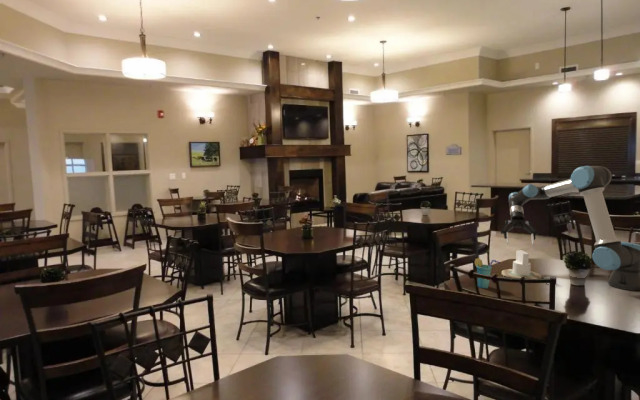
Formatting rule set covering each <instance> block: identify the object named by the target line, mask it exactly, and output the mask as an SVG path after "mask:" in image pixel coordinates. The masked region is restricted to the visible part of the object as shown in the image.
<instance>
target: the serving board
mask: <svg viewBox="0 0 640 400" xmlns="http://www.w3.org/2000/svg"><path fill="white" fill-rule="evenodd" d="M512 272H513V268H507V269H503V270H501V276H502V275H503V276H502V277H504V276H506V277H511V278H521V277H525V278H528V279H541V280H542V274H540V273H538V272H536V271H532V270H530V275H517V274H514V273H512ZM506 277H505V278H506Z"/></svg>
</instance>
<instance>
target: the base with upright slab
mask: <svg viewBox="0 0 640 400" xmlns="http://www.w3.org/2000/svg"><path fill="white" fill-rule="evenodd" d="M515 253H516V254H515V255H516V256H515V260H513V261H512V269H513V272H512V273H514V274H517V275H530V271H531V269H532V268H531V267H532V266H531V265H532V263H531V262H530V261H529V259H530V254H529V253H528V252H526V251H524V250H520V249H518V250H516V252H515Z"/></svg>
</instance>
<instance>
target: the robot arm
mask: <svg viewBox="0 0 640 400" xmlns="http://www.w3.org/2000/svg"><path fill="white" fill-rule="evenodd" d="M611 181H612V173H611V171H610V170H609V169H608V168H607V167H605V166H601V165H584V166H579V167H576V168H575V169H574V170H573V171H572V173H571V175H570V178H568V179H565V180H561V181H557V182H554V183H550V184H547V185H544V186H536V185H535V184H532V183H528V184H527V185H526V186H524V187H523V188H522V189H520V190H519V191H514V192H511V193H509V195H508V205H509V206H508V207H509V215H510V220H509V219H508V218H507V219H506V220H505V223H504V224H503V226H502V228H501V230H500V234H503V237H504V240H505V239H506V245H509V243H510V240H509V233H510V232H511V230H512V229H514V228H515V229H523V230H525V231H526V232H527V233H529V234H530V239H531V246H534V245H535V241H536V236H538V235H539V231H538V230H537V228H536V227H535V226H534V225H533V223H532V221H531V220H525V213H524V205H525V204H526V203H527V202H528V201H530V200H531V201H532V200H549V199H550V198H552V197H556V196H561V195H565V194H569V193H572V192H573V193H574V192H577V191H578V193H579V195H580V196H582V197H583V199H584V203H585V207H586V209H587V213H588V216H589V221H590V223H591V227H592V231H593V233H594V237H595V242H594V244H593V246H594V250H593V252H592V257H591V258H592V261H593V262H594V264H595V265H596V266H597V267H599V268H600V269H602V270H605V271H612V272H611V274H610V276H609V278H608V282H607V284H608V285H609V286H611V287H613V288H617V289H620V290H625V289H628V290H627V291H634V290H639V289H640V243H633V242H628V241H621V240H620V239H618V238H617V237H616V234H615V230H614V227H613V223H612V220H611V217H610V214H609V211H608V206H607V204H606V200H605V197H604V193H603V192H604V191H605V187H606V186H608V185H610V183H611ZM508 225H509V227H508ZM639 291H640V290H639Z"/></svg>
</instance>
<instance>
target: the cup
mask: <svg viewBox="0 0 640 400" xmlns="http://www.w3.org/2000/svg"><path fill="white" fill-rule="evenodd" d="M493 263H497V264H500V263H501V262H500V261H498V260H496V259H491V261H490V264H489V265H488V264H483V261H482V259H481V258H479V257H477V258H475V259H474V266H475V267H476V274H477V273H479V274H483V275H489V276H490V277H491V273H492V268H493V267H492V265H493ZM476 278H477V277H476ZM489 284H490V280H487V279H482V278H477V287H478V288H479V289H489Z"/></svg>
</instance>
